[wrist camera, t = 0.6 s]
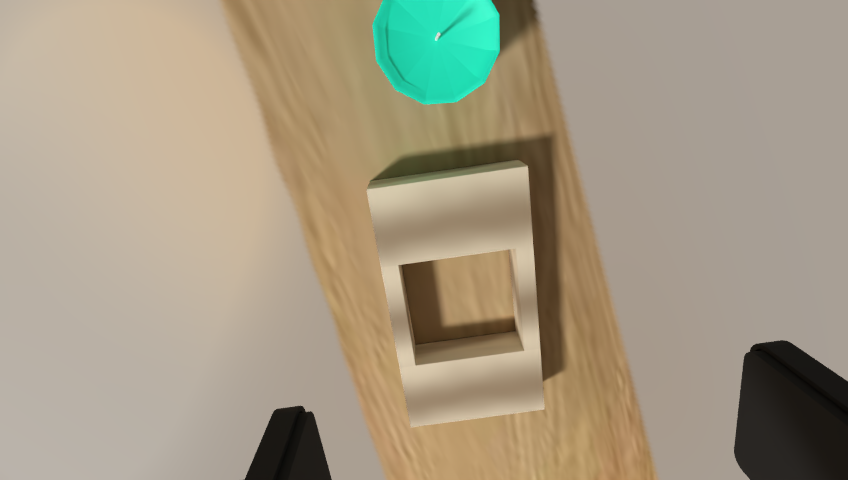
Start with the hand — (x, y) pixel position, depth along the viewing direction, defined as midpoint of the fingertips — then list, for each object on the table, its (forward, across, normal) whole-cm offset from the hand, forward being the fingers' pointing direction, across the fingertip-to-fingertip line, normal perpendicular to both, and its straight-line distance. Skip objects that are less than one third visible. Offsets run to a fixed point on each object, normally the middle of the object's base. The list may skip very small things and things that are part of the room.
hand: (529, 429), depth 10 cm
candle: (+26, 0, -9) cm, 27 cm away
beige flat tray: (+25, 0, +9) cm, 27 cm away
